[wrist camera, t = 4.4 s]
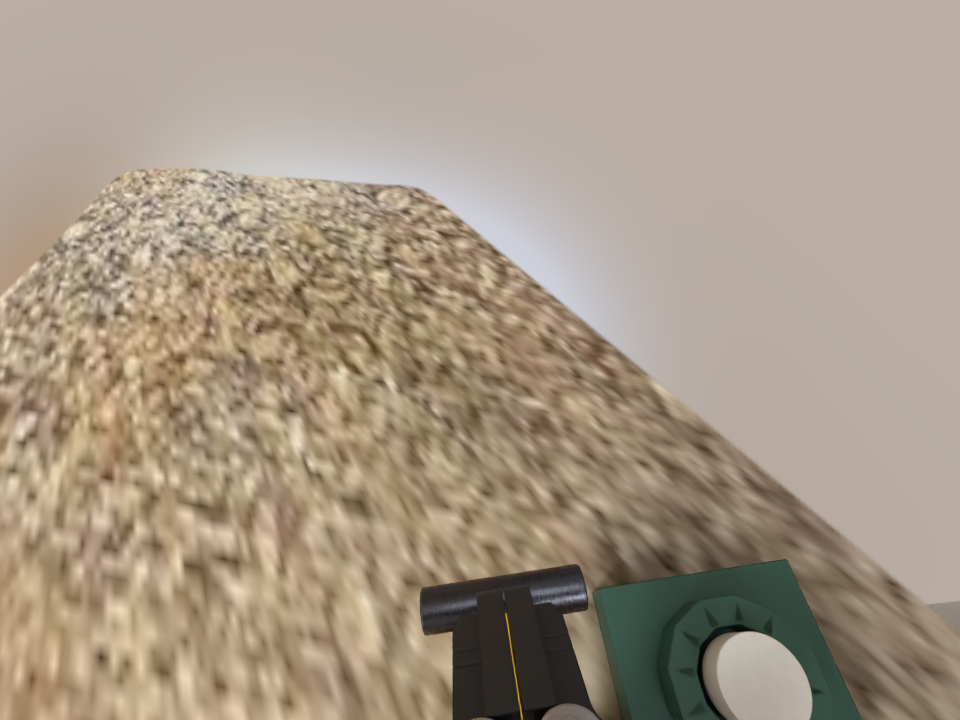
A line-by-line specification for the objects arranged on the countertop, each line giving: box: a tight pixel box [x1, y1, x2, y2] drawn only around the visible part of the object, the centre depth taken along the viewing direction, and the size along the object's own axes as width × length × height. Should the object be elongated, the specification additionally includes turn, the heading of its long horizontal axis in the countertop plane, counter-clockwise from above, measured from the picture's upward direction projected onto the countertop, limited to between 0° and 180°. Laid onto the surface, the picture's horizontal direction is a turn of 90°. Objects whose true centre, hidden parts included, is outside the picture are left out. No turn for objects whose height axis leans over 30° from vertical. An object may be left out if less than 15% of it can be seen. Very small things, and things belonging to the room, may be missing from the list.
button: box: [702, 631, 812, 720], centre depth 19 cm, size 4×4×2 cm
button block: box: [593, 559, 862, 720], centre depth 21 cm, size 10×9×4 cm
